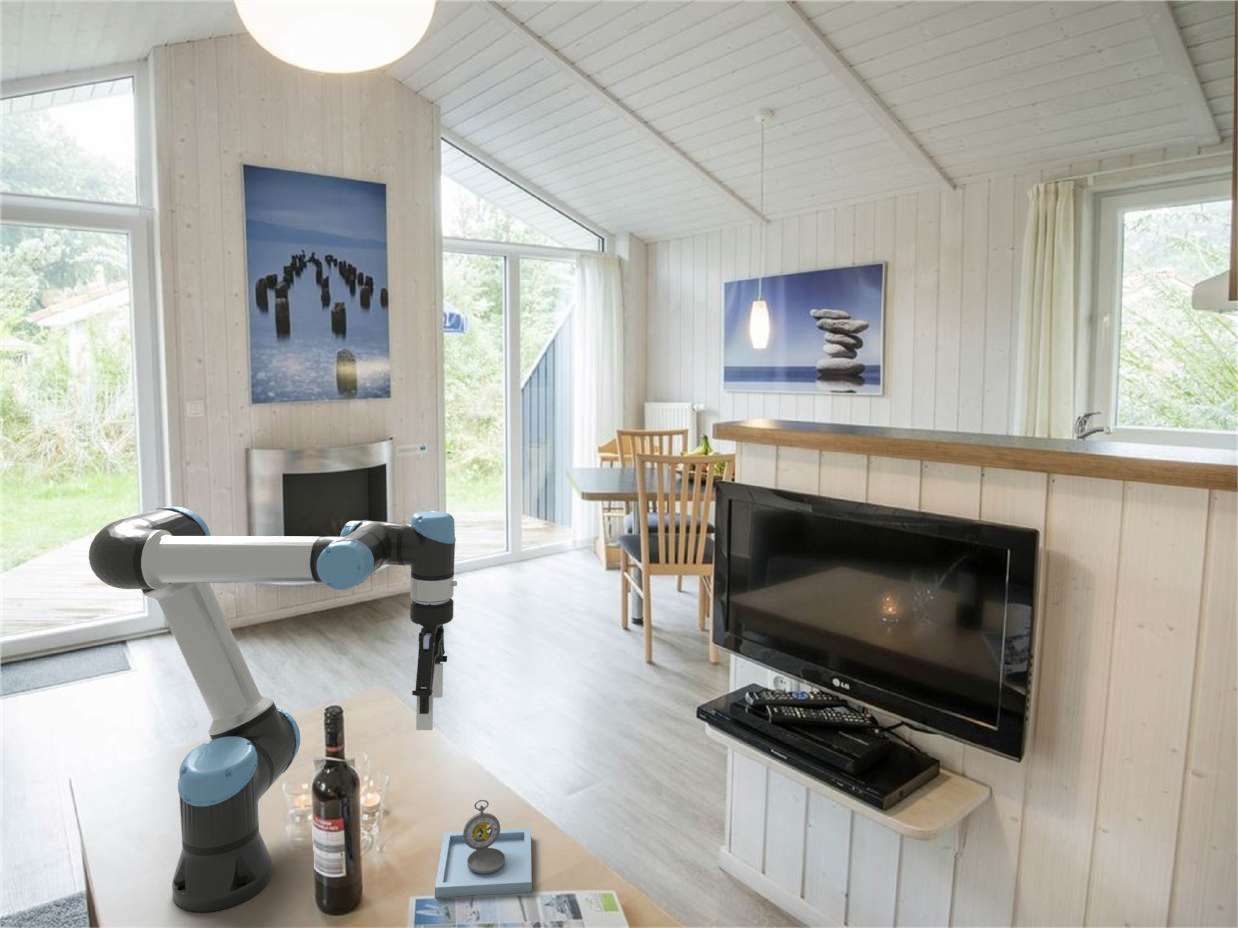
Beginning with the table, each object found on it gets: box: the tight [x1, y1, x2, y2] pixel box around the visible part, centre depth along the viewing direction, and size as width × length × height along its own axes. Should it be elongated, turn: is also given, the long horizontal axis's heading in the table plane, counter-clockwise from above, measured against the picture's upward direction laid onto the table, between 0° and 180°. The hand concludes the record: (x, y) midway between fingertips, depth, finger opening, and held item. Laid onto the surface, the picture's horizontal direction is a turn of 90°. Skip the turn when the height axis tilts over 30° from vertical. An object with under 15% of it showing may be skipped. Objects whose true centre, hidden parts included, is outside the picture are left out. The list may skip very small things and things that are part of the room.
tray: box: [434, 827, 532, 898], centre depth 143 cm, size 16×16×2 cm
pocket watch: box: [462, 799, 505, 874], centre depth 143 cm, size 8×8×10 cm
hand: (429, 712), depth 146 cm, fingers open, 13 cm apart
